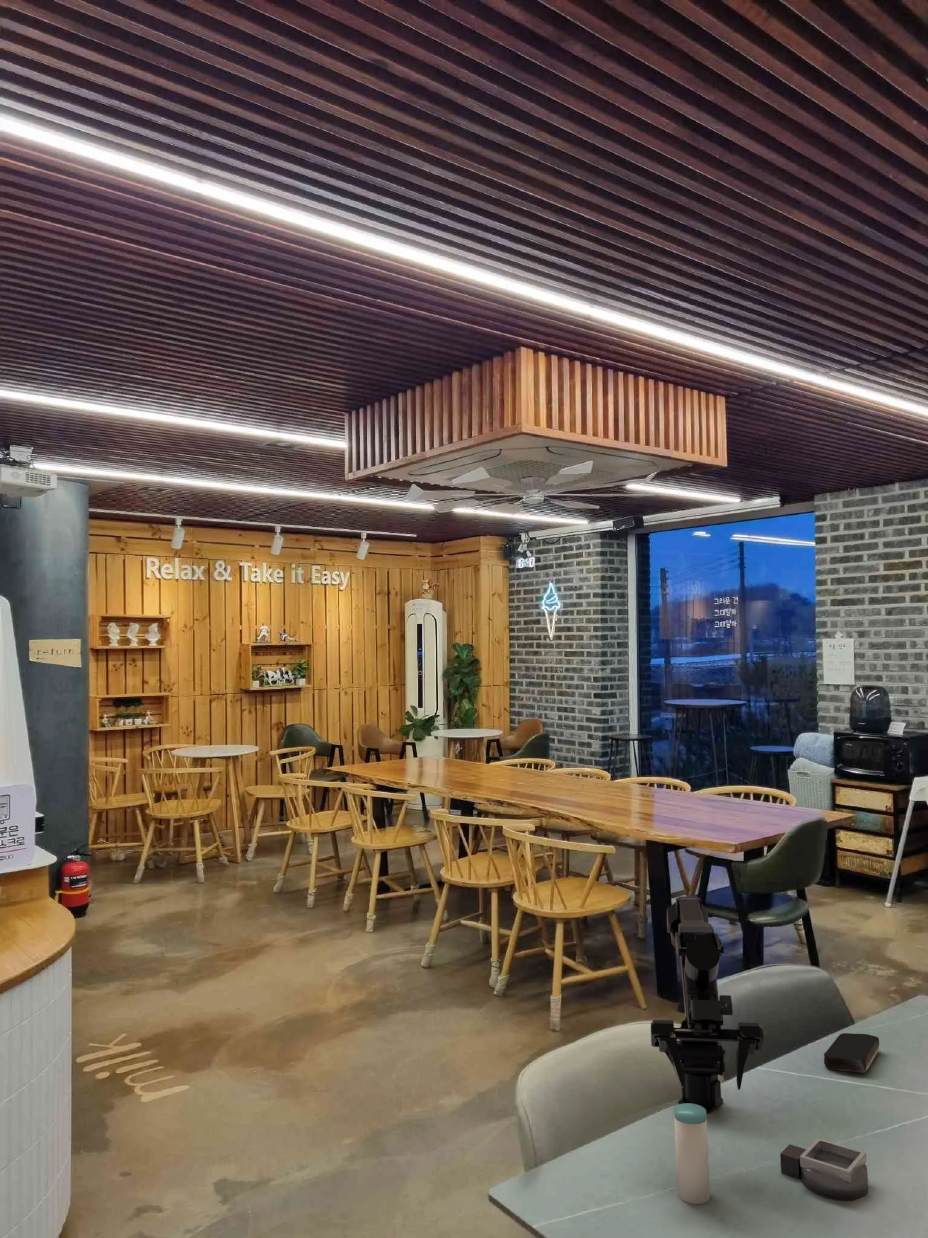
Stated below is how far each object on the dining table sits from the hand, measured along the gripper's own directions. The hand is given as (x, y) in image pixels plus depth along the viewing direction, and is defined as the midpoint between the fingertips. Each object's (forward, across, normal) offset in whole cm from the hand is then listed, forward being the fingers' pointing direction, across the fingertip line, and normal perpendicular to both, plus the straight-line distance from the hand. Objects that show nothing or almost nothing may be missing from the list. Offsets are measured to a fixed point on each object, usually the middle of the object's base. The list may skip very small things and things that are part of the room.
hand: (710, 1088), depth 154 cm
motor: (+11, +17, +8) cm, 22 cm away
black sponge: (-21, +34, +47) cm, 61 cm away
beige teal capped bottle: (+15, -4, +3) cm, 16 cm away
